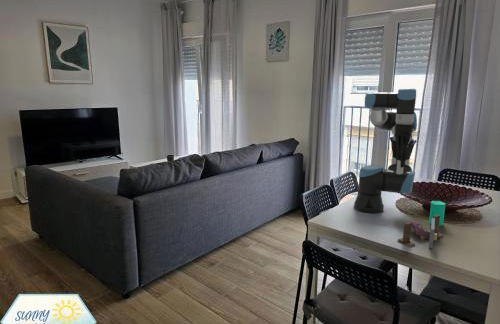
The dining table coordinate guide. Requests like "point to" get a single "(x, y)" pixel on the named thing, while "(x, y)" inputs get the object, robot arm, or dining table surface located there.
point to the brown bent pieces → (407, 232)
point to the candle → (437, 211)
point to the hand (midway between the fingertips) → (399, 173)
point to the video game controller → (419, 230)
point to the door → (432, 233)
